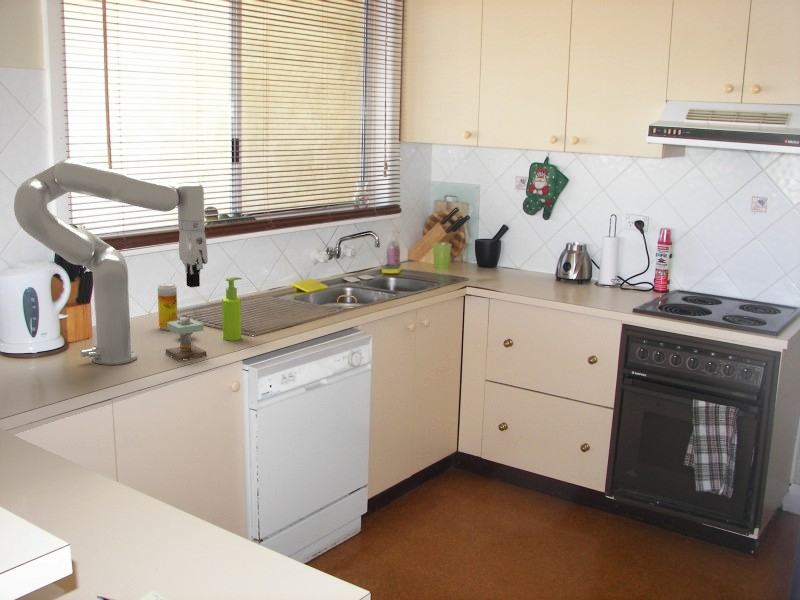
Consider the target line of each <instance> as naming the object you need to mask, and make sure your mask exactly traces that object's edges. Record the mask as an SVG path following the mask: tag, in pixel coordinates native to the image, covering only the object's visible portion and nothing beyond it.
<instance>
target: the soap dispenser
mask: <svg viewBox="0 0 800 600" xmlns="http://www.w3.org/2000/svg"><path fill="white" fill-rule="evenodd" d="M242 279H243V278H242V277H237V276H232V277H227V278H226V279H225V281H226V282H228V287H226V288H225V297H224V298H222V301H221V302H222V303H221V305H222V310H221V311H222V339H223V340H224V341H239V340H241V339H242V300H241V298H240V297H237V296H238V288H236V287H235V281H237V280H242Z"/></svg>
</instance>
